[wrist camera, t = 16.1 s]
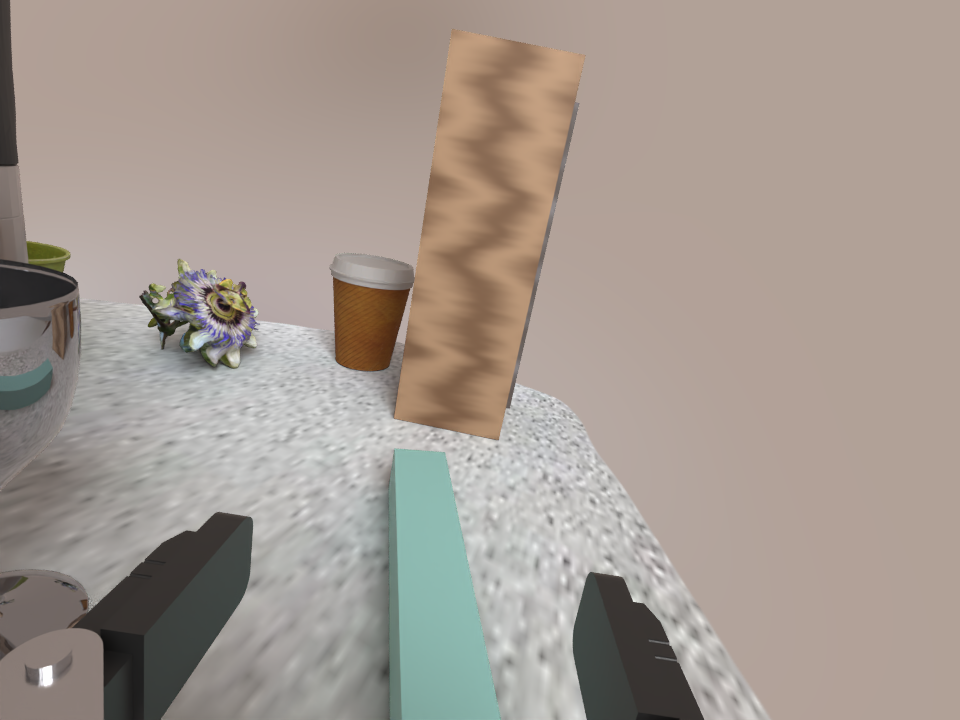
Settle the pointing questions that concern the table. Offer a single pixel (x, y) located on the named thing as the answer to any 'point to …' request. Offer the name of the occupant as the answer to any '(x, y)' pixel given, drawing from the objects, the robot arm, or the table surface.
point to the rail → (432, 600)
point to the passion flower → (205, 314)
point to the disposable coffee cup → (368, 308)
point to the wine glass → (36, 427)
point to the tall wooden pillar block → (485, 228)
